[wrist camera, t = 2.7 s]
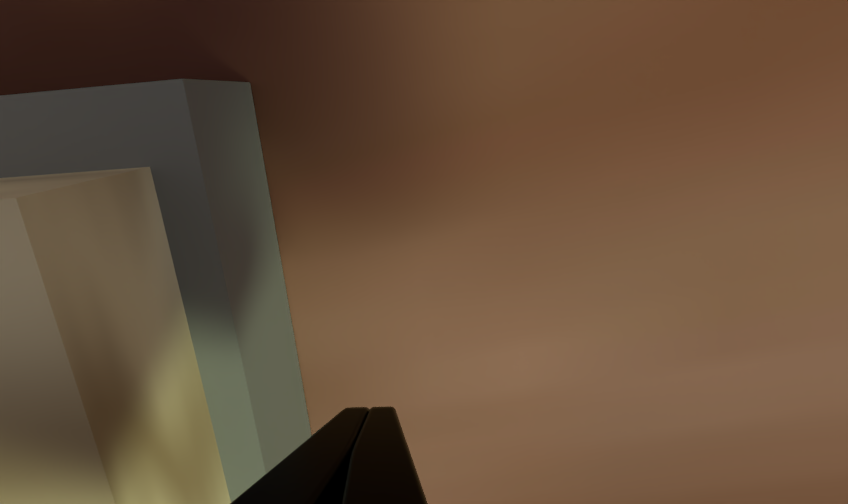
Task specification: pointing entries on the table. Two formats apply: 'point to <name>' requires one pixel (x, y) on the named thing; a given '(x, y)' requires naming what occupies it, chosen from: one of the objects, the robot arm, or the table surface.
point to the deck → (192, 238)
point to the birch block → (97, 349)
